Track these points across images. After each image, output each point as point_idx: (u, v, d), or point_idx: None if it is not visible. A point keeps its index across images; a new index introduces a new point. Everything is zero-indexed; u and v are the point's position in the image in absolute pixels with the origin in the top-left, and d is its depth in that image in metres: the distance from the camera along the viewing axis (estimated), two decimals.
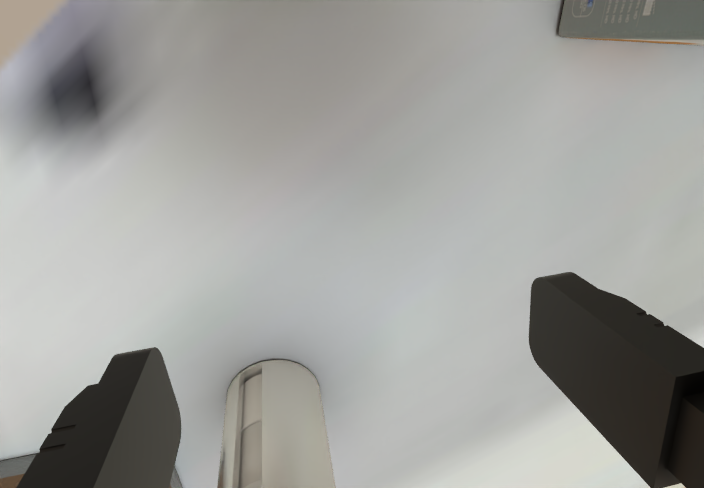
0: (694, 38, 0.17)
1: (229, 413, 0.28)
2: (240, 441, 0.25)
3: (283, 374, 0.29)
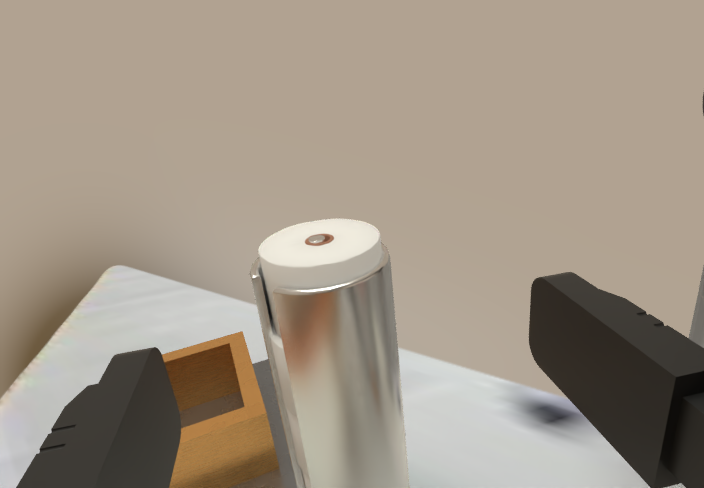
0: None
1: None
2: None
3: None
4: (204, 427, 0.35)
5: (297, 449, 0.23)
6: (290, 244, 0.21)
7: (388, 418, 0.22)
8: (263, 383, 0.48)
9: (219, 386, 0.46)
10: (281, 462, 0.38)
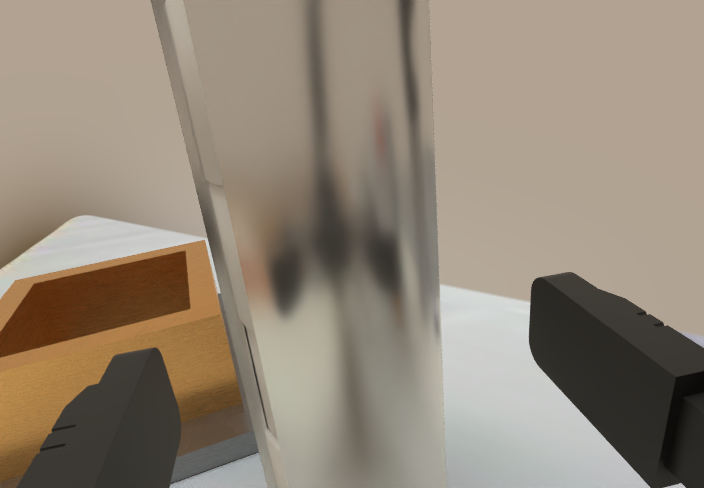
0: None
1: None
2: None
3: None
4: (126, 332, 0.23)
5: (233, 280, 0.12)
6: None
7: (413, 194, 0.11)
8: None
9: (173, 311, 0.35)
10: (245, 396, 0.27)
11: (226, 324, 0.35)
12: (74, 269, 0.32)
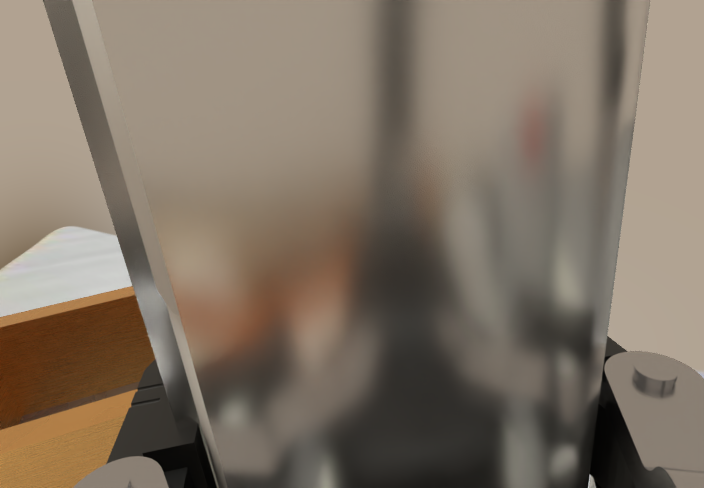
0: None
1: None
2: None
3: None
4: (82, 417, 0.18)
5: (216, 466, 0.06)
6: None
7: (599, 335, 0.05)
8: None
9: None
10: None
11: None
12: (34, 311, 0.27)
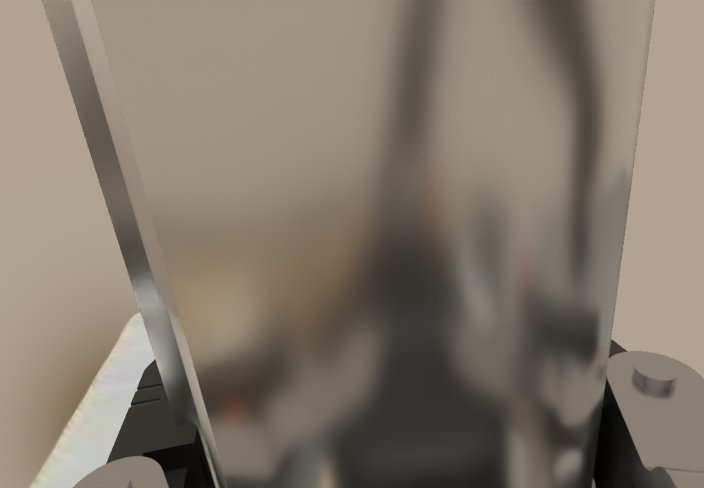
0: None
1: None
2: None
3: None
4: None
5: (217, 469, 0.06)
6: None
7: (603, 337, 0.05)
8: None
9: None
10: None
11: None
12: None
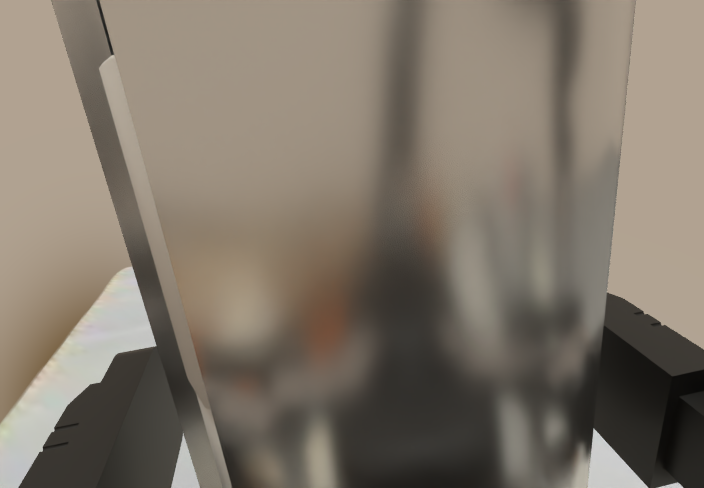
0: None
1: None
2: None
3: None
4: None
5: None
6: None
7: (585, 425, 0.05)
8: None
9: None
10: None
11: None
12: None
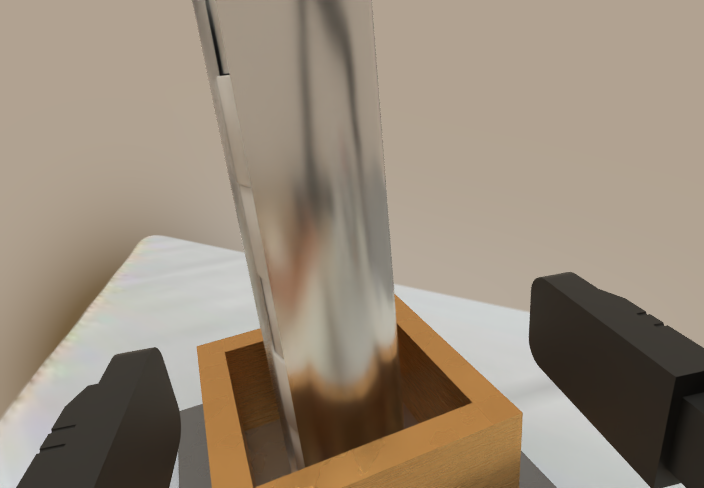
0: None
1: None
2: None
3: None
4: (417, 440, 0.19)
5: (254, 247, 0.19)
6: None
7: (367, 192, 0.17)
8: None
9: None
10: None
11: None
12: (260, 331, 0.28)
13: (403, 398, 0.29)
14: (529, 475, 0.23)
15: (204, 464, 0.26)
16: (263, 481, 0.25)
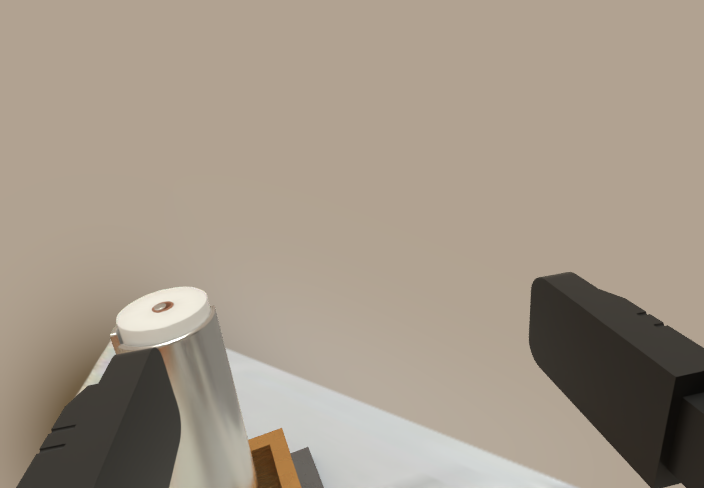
0: None
1: None
2: None
3: None
4: None
5: None
6: (141, 310, 0.29)
7: (217, 434, 0.30)
8: (302, 481, 0.45)
9: None
10: None
11: None
12: None
13: None
14: None
15: None
16: None
